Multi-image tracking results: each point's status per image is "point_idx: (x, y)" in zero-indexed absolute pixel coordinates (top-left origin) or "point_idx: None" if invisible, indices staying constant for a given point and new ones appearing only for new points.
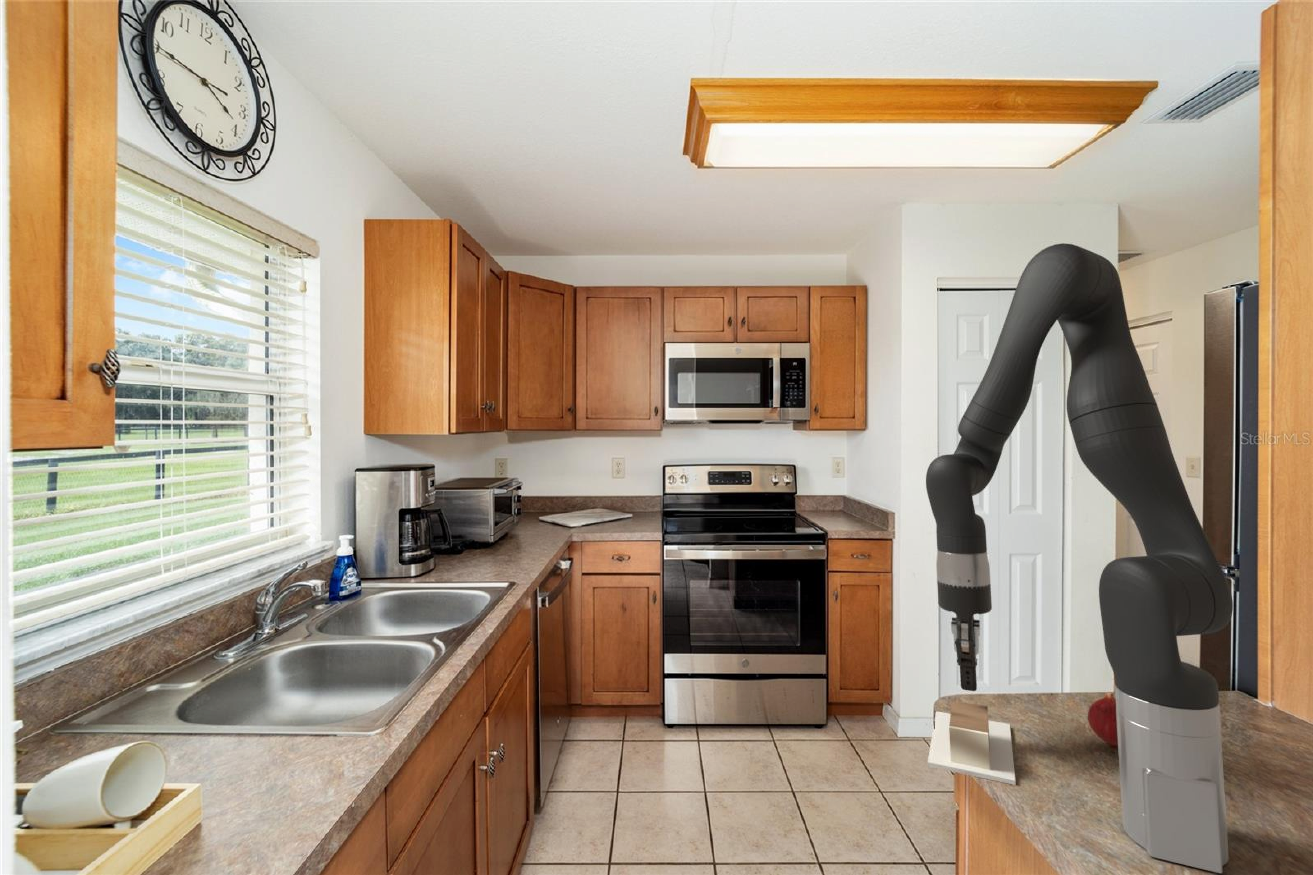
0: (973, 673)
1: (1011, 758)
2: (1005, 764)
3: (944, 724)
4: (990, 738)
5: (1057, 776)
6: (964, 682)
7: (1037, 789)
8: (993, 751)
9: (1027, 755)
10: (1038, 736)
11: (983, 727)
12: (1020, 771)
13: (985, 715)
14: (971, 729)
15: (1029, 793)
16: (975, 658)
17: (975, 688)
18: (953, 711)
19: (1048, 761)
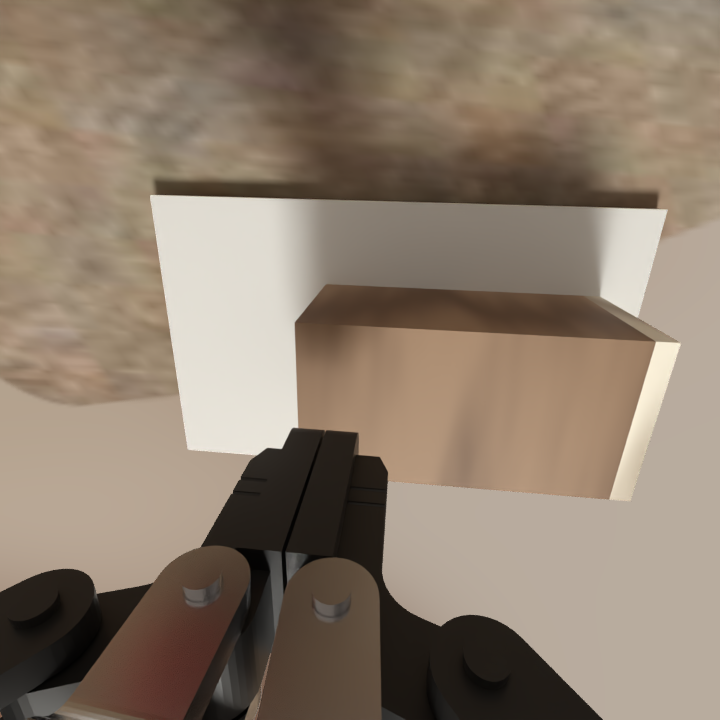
0: (341, 528)
1: (476, 210)
2: (537, 237)
3: (281, 427)
4: (328, 280)
5: (537, 24)
6: (384, 532)
7: (672, 125)
8: (437, 275)
9: (384, 141)
10: (178, 76)
11: (589, 359)
12: (536, 181)
13: (426, 340)
14: (632, 414)
15: (711, 160)
16: (380, 693)
17: (355, 441)
18: (431, 475)
19: (407, 52)
